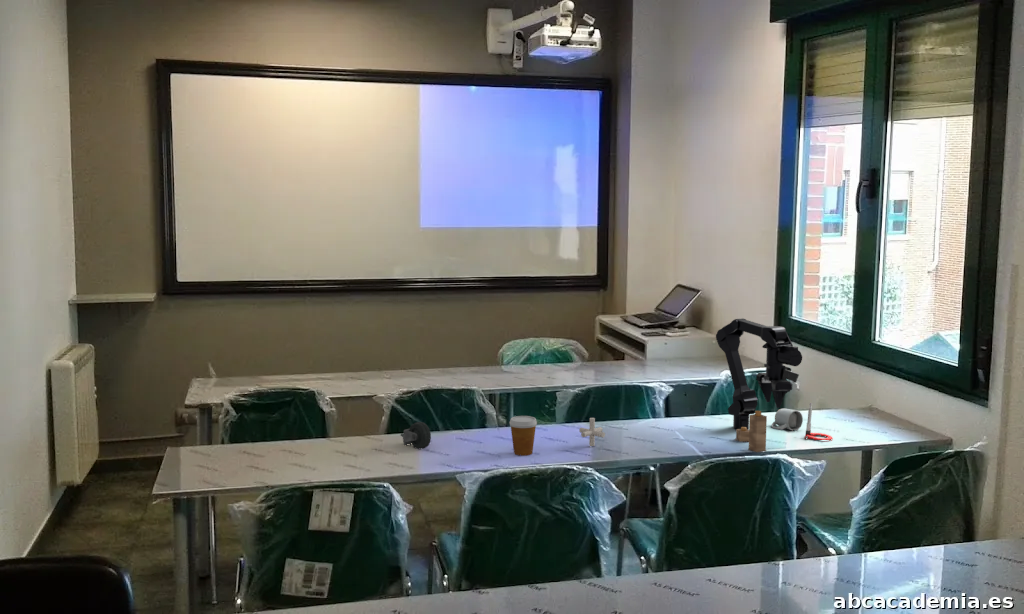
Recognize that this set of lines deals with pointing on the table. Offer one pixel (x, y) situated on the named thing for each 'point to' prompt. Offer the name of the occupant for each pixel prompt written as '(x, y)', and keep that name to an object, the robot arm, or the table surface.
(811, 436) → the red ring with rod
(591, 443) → the pipe connector
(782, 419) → the ceramic mug
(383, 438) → the table surface
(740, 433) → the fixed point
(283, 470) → the table surface
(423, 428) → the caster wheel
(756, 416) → the point post
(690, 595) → the table surface
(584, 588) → the table surface
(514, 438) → the disposable coffee cup
